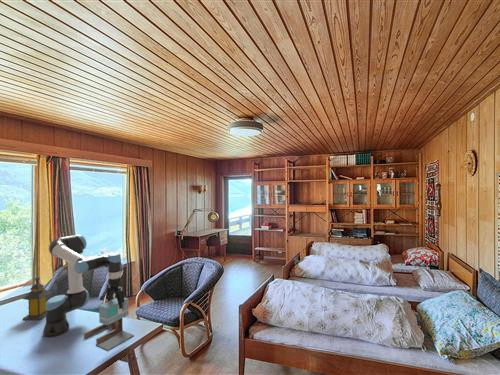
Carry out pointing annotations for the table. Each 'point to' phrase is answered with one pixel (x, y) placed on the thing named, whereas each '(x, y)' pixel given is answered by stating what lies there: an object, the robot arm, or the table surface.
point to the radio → (112, 311)
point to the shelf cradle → (116, 325)
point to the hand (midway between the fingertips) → (115, 311)
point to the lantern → (37, 302)
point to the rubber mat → (114, 340)
